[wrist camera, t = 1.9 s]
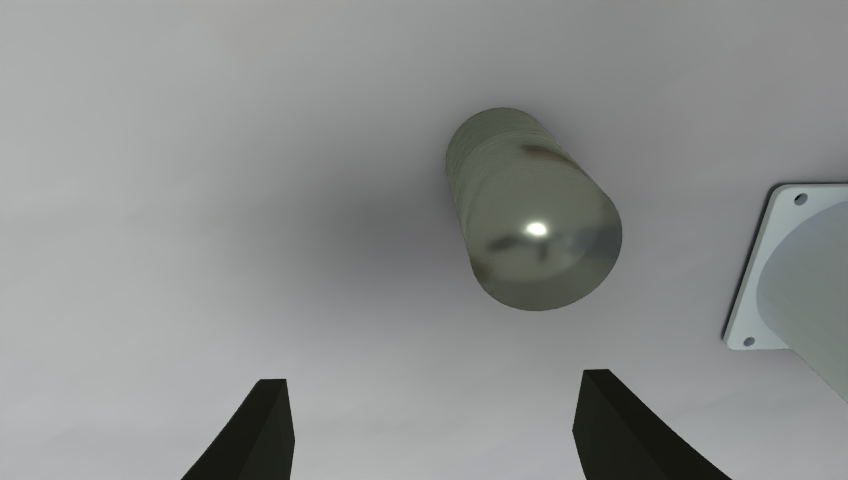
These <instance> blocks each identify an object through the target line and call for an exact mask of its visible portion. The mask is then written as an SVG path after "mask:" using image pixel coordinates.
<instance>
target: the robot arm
mask: <svg viewBox="0 0 848 480" xmlns="http://www.w3.org/2000/svg"><path fill="white" fill-rule="evenodd" d="M799 194H801V196H800V197H799V199H798V200H796V201H794V200H795V198H796V196H798V195H799ZM747 338H748V339H747ZM745 339H747V340H745ZM723 341H724V343H725V345H726V346H727V347H728V348H729V349H731V350H758V349H792V350H793V351H794V352H795V353H796V354H797V355H798V356H799V357H800V358H801V359H802V360H803V361H804V362H805V363H806V364H807V365H808V366H809V367H810V368H811V369H813V370H814V371H815V372H816V373H817V374H818V375H819V376H820V377H821V378H822V379H823V380H824V381H825V382H826V383H827V384H828V385H829V386H830V387H831V388H832V389H833V390H834V391H836V392H837V393H838V394H839V395H840V396H841V397H842V398H843V399H844V400H845V401H846V402H847V403H848V184H787V185H782V186H780V187H778V188H777V189H776V190H775V191H774V192H773V193H772V195H771V198H770V201H769V204H768V207H767V209H766V212H765V215H764V218H763V221H762V224H761V227H760V230H759V233H758V236H757V239H756V242H755V245H754V248H753V251H752V254H751V257H750V260H749V263H748V266H747V269H746V272H745V275H744V278H743V281H742V284H741V287H740V290H739V293H738V296H737V299H736V302H735V305H734V308H733V311H732V314H731V317H730V320H729V323H728V326H727V329H726V332H725V335H724V339H723ZM572 432H573V435H574V439H575V443H576V447H577V451H578V455H579V458H580V462H581V465H582V468H583V472H584V474H585V477H586V479H587V480H732V479H731V478H729V477H728V476H727V475H725V474H724V473H723V472H722V471H720V470H719V469H718V468H716V467H715V466H714V465H713V464H712V463H710V462H709V461H708V460H707V459H706V458H704V457H703V456H702V455H701V454H700V453H698V452H697V451H696V450H695V449H693V448H692V447H691V446H690V445H689V444H688V443H687V442H685V441H684V440H683V439H682V438H681V437H680V436H679V435H677V434H676V433H675V432H674V431H673V430H672V429H671V428H670V427H669V426H667V425H666V424H665V423H664V422H663V421H662V420H661V419H660V418H659V417H658V416H657V415H656V414H654V413H653V412H652V411H651V410H650V409H649V408H648V407H647V406H646V405H645V404H644V403H643V402H642V401H641V400H640V399H639V398H638V397H637V396H636V395H635V394H634V393H633V392H632V391H631V390H629V389H628V388H627V387H626V386H625V385H624V384H623V383H622V382H621V381H620V380H619V379H618V378H617V377H616V376H615V375H614V374H613V373H612V372H611V371H610V370H609V369H595V370H584V371H583V376H582V382H581V387H580V392H579V397H578V403H577V408H576V413H575V419H574V424H573V429H572ZM294 445H295V436H294V430H293V423H292V416H291V409H290V402H289V396H288V389H287V382H286V379H260V380H259V381H258V382H257V383H256V384H255V386H254V387H253V388H252V390H251V391H250V393H249V394H248V396H247V397H246V398H245V400H244V401H243V403H242V404H241V405H240V407H239V408H238V410H237V411H236V412H235V414H234V415H233V416H232V418H231V419H230V420H229V422H228V423H227V424H226V426H225V427H224V428H223V429H222V431H221V432H220V433H219V434H218V436H217V437H216V438H215V440H214V441H213V442H212V443H211V445H210V446H209V447H208V448H207V450H206V451H205V452H204V453H203V455H202V456H201V457H200V458H199V459H198V460H197V462H196V463H195V464H194V465H193V466H192V467H191V468H190V470H189V471H188V472H187V473H186V474H185V475H184V476H183V478H182V479H181V480H290V474H291V467H292V460H293V453H294Z"/></svg>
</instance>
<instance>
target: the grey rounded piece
mask: <svg viewBox="0 0 848 480" xmlns="http://www.w3.org/2000/svg"><path fill="white" fill-rule="evenodd" d="M446 170H447V175H448V179H449V182H450V186H451V190H452V194H453V198H454V201H455V205H456V209H457V213H458V216H459V220H460V224H461V228H462V232H463V235H464V239H465V243H466V247H467V250H468V254H469V258H470V262H471V266H472V269H473V272H474V275H475V276H476V278H477V280H478V282H479V284H480V285H481V286H482V288H483V289H484V290H485V291H486V292H487V293H488V294H489V295H490V296H492V297H493V298H494V299H496V300H497V301H499V302H501V303H503V304H505V305H507V306H510V307H513V308H516V309H520V310H527V311H544V310H551V309H557V308H560V307H563V306H566V305H569V304H571V303H574V302H576V301H578V300H579V299H581V298H583V297H585V296H586V295H588V294H589V293H590V292H592V291H593V290H594V289H595V288H596V287H598V286H599V285H600V284H601V283H602V282H603V280H604V279H605V278H606V277H607V275H608V274H609V273H610V271H611V270H612V268H613V266H614V265H615V263H616V260H617V258H618V256H619V252H620V249H621V243H622V225H621V220H620V217H619V214H618V211H617V209H616V207H615V206H614V204H613V202H612V201H611V200H610V198H609V197H608V196H607V195H606V194H605V193H604V192H603V191H602V190H601V189H600V188H599V186H598V185H597V184H596V183H595V182H594V181H593V180H592V179H591V178H590V177H589V176H588V175H587V174H586V173H585V172H584V171H583V170H582V168H581V167H580V166H579V165H578V164H577V163H576V162H575V161H574V160H573V159H572V158H571V157H570V156H569V155H568V154H567V153H566V151H565V150H564V149H563V148H562V147H561V146H560V145H559V144H558V143H557V142H556V141H555V140H554V139H553V138H552V137H551V136H550V134H549V133H548V132H547V131H546V130H545V129H544V128H543V127H542V126H541V125H540V124H539V123H538V122H537V121H536V120H535V119H534V118H532V117H531V116H530V115H528V114H526V113H524V112H522V111H519V110H516V109H511V108H494V109H489V110H486V111H483V112H480V113H478V114H476V115H474V116H473V117H471V118H470V119H468V120H467V121H466V122H465V123H464V124H462V126H461V127H460V128H459V129H458V130H457V131H456V133H455V134H454V136H453V138H452V140H451V142H450V144H449V147H448V150H447V155H446Z"/></svg>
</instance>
